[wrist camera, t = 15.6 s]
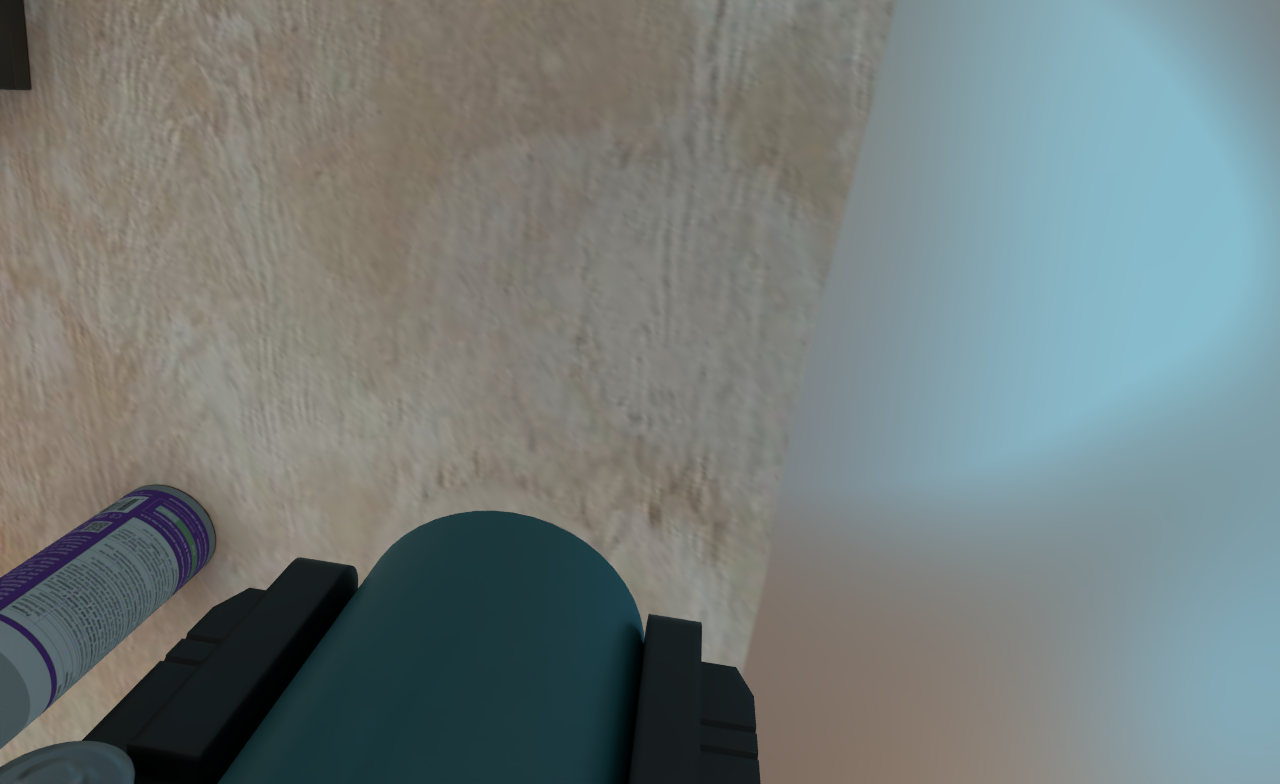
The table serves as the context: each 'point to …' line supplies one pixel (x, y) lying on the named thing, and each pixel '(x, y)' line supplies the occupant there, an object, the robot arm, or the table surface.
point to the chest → (13, 47)
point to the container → (92, 595)
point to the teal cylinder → (465, 667)
